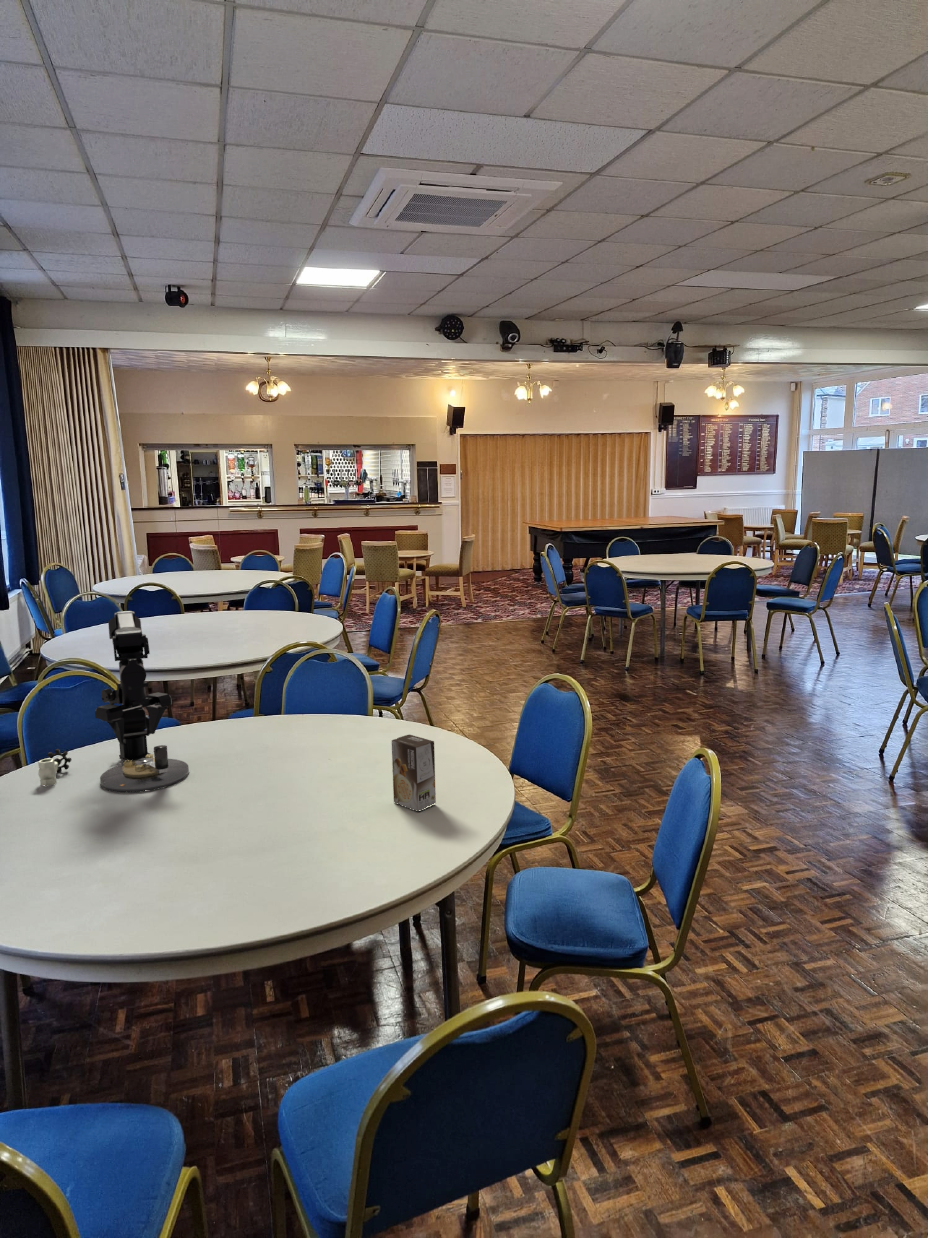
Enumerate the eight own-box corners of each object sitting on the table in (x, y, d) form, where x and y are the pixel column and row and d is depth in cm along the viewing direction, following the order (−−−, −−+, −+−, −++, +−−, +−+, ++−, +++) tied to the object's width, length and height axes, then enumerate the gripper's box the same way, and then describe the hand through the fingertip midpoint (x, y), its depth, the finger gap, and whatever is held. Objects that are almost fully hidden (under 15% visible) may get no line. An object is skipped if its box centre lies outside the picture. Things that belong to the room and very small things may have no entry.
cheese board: (153, 761, 218) (151, 732, 216) (185, 773, 207) (183, 743, 206) (115, 771, 209) (112, 741, 208) (145, 785, 199) (143, 753, 198)
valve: (59, 786, 205) (72, 770, 216) (57, 762, 204) (70, 747, 215) (32, 788, 204) (46, 772, 215) (29, 764, 203) (44, 749, 214)
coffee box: (437, 805, 189) (436, 741, 186) (418, 813, 184) (416, 747, 182) (411, 795, 195) (409, 733, 192) (392, 803, 190) (390, 739, 188)
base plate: (162, 758, 226) (161, 752, 225) (204, 774, 212) (204, 768, 211) (85, 779, 209) (84, 773, 209) (126, 799, 195) (125, 792, 195)
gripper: (144, 669, 212) (148, 725, 215) (79, 683, 197) (84, 743, 199) (171, 673, 206) (175, 731, 209) (106, 688, 191) (111, 749, 193)
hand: (137, 738), depth 202 cm, fingers open, 9 cm apart
